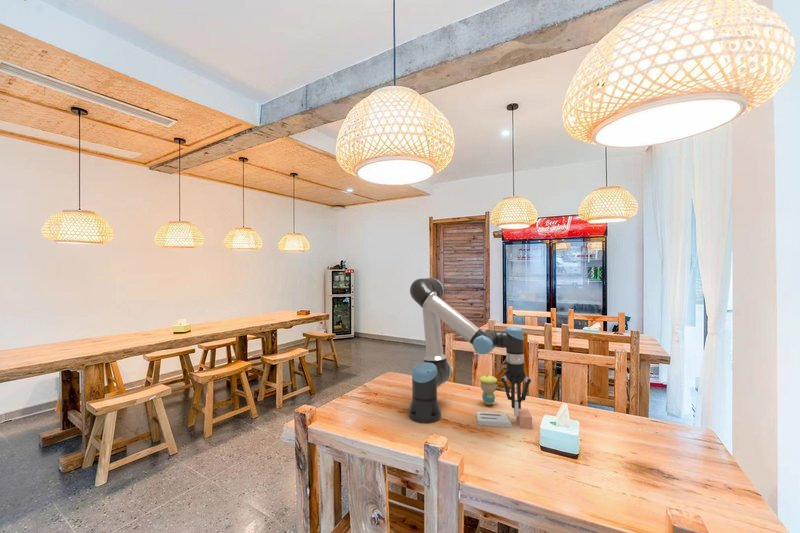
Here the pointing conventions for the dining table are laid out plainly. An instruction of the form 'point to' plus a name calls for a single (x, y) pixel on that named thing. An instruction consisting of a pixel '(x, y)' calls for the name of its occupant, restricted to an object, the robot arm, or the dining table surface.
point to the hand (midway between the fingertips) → (516, 415)
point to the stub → (524, 419)
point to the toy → (488, 388)
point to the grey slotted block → (493, 419)
